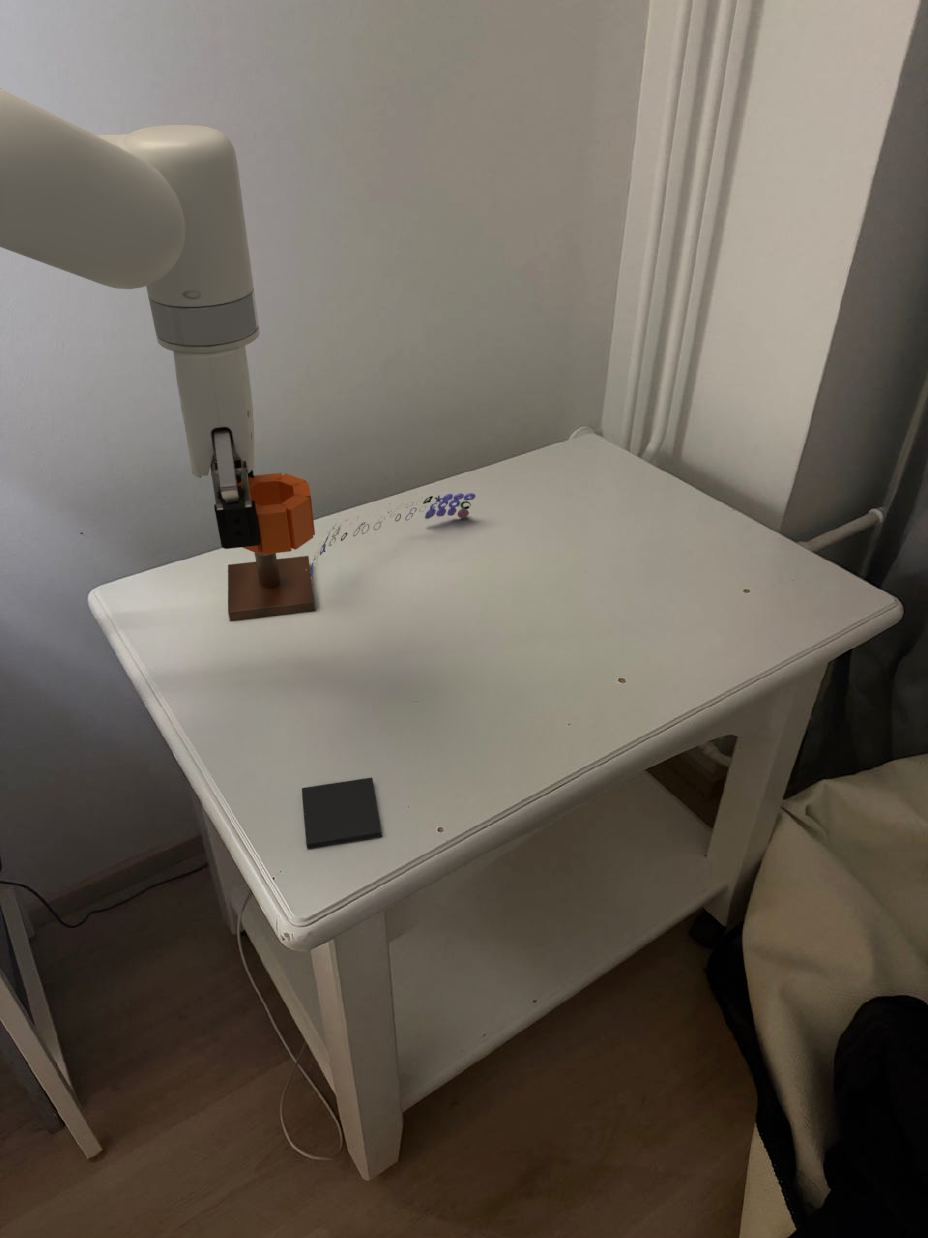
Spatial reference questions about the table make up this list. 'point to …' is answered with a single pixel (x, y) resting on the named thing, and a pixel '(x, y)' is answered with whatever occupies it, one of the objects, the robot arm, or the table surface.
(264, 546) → the orange octagonal tube
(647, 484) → the table surface
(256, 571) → the rack
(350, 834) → the mat
